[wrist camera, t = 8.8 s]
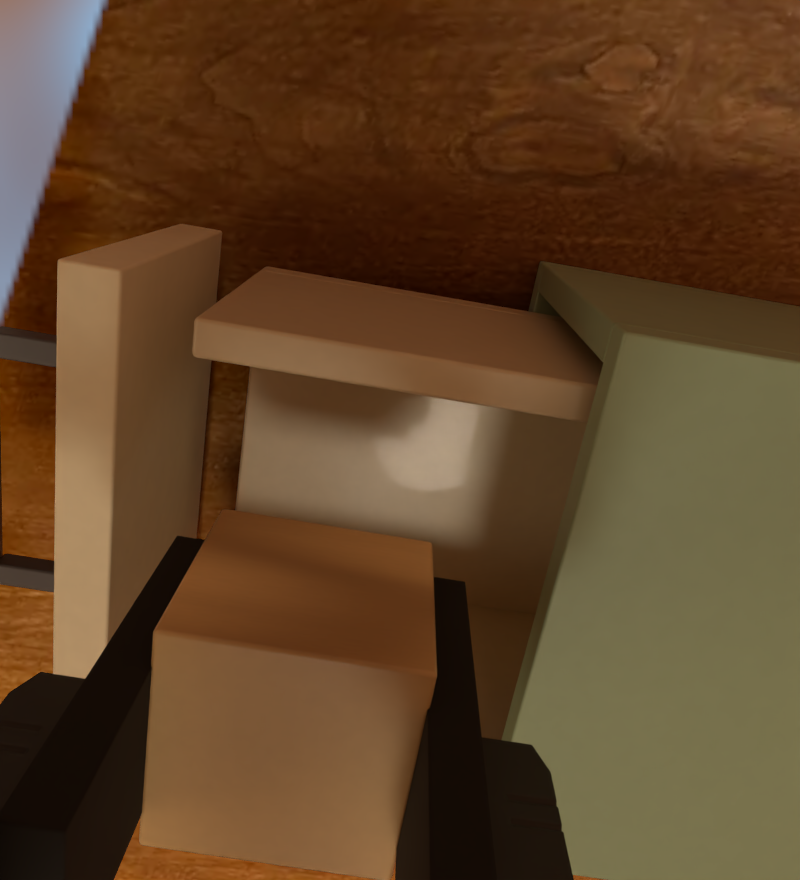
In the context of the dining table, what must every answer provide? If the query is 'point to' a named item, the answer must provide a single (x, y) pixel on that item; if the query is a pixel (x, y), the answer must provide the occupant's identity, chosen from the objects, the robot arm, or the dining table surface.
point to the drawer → (302, 431)
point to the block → (290, 696)
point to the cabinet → (674, 589)
